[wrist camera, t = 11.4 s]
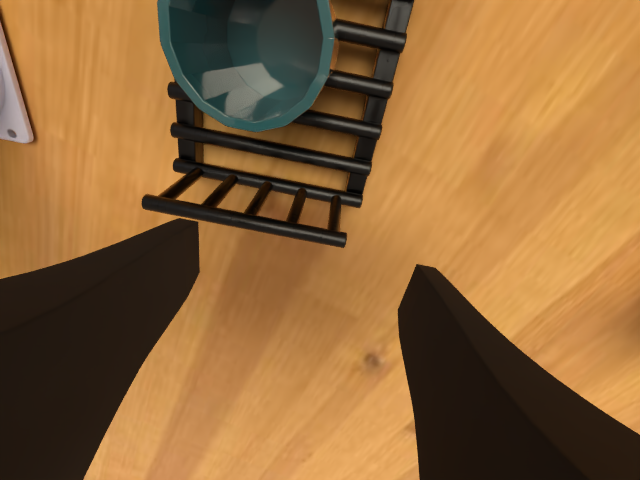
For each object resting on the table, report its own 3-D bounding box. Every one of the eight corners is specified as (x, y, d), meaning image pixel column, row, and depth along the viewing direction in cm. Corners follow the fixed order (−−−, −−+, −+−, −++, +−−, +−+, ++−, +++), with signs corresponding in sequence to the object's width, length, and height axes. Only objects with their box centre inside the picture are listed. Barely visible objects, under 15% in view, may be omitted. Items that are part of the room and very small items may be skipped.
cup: (222, 94, 16) (165, 114, 11) (224, -45, 13) (148, -102, 8) (326, 115, 16) (316, 144, 11) (350, -17, 13) (351, -58, 8)
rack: (188, 164, 20) (122, 211, 14) (172, -209, 12) (14, -440, 6) (358, 198, 20) (362, 257, 14) (449, -147, 13) (535, -315, 7)
